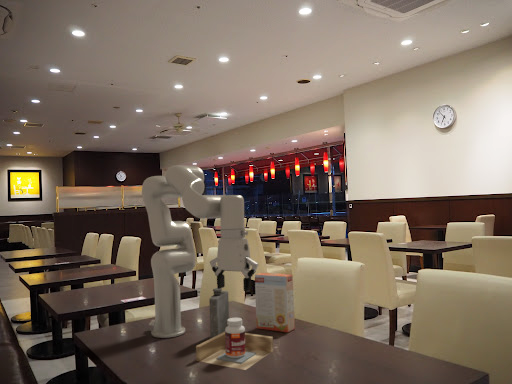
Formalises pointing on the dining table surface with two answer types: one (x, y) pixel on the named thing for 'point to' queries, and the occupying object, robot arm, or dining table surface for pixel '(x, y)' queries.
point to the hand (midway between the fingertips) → (233, 289)
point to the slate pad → (237, 360)
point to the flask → (218, 312)
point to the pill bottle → (235, 338)
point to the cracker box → (274, 302)
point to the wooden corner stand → (217, 347)
